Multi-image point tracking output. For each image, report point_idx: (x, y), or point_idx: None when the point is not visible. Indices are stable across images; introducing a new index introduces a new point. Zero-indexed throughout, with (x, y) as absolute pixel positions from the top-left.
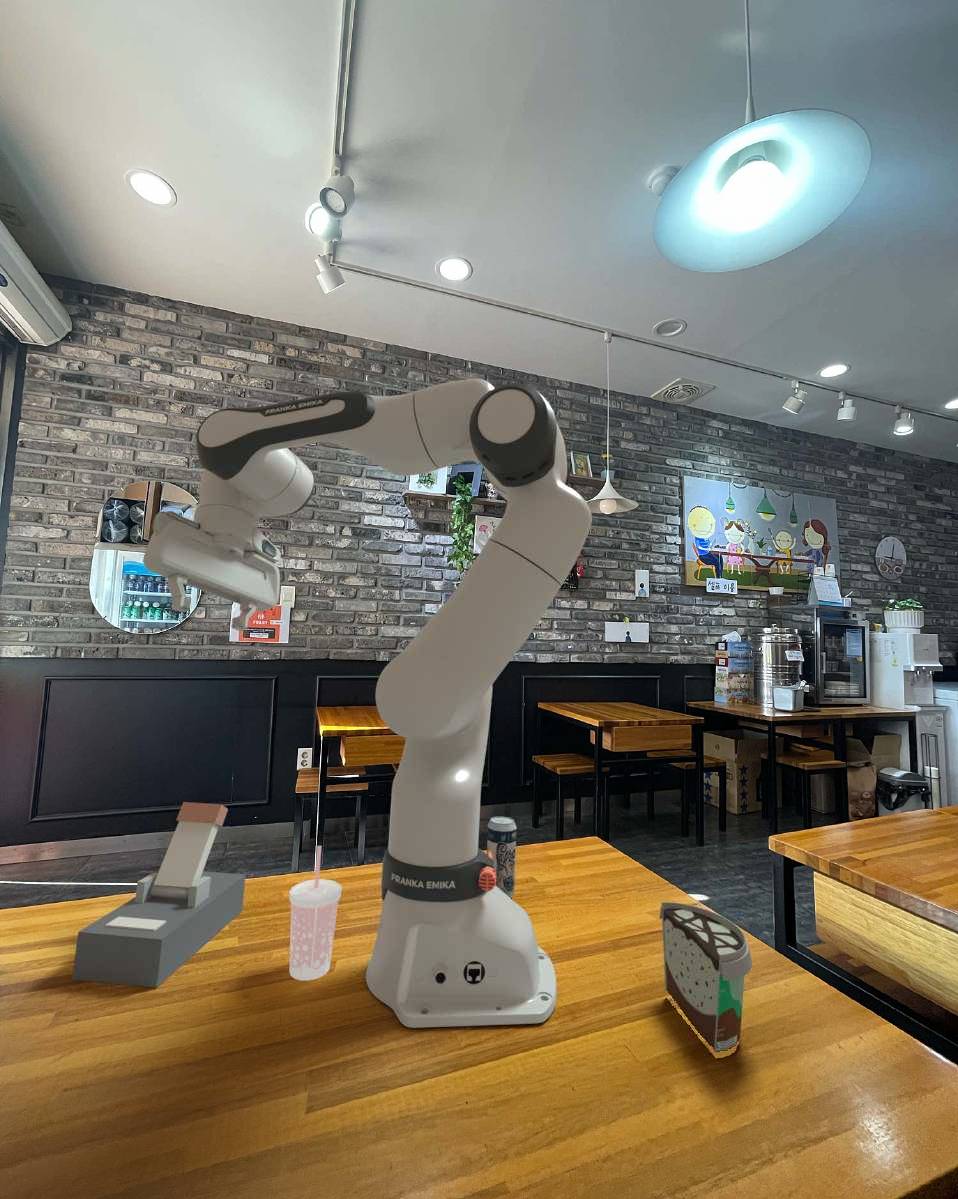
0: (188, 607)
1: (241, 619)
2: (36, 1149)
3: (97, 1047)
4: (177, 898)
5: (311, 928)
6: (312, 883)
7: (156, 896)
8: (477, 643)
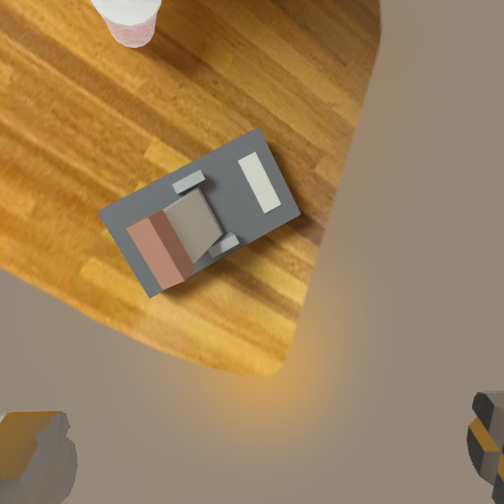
0: (498, 392)
1: (21, 449)
2: (374, 24)
3: (314, 92)
4: None
5: None
6: (112, 10)
7: None
8: None
